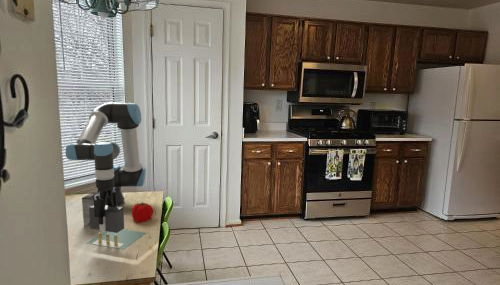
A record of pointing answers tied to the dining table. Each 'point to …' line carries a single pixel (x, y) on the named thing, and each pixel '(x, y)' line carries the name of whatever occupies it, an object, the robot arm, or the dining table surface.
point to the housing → (109, 218)
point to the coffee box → (87, 207)
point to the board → (116, 239)
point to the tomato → (142, 212)
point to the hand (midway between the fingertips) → (107, 227)
